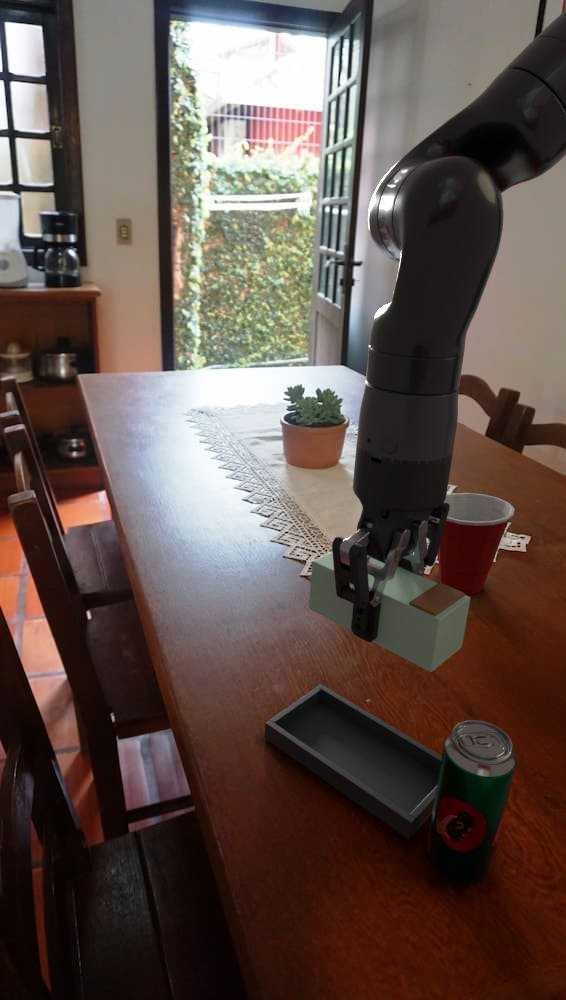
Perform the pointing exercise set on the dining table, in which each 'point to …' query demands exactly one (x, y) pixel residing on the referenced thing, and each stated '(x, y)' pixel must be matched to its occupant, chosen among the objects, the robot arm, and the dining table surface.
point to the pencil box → (400, 613)
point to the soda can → (470, 801)
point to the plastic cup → (471, 539)
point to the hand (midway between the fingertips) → (382, 623)
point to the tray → (360, 757)
